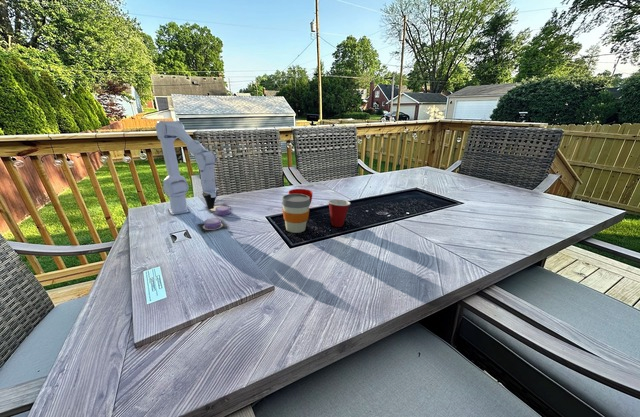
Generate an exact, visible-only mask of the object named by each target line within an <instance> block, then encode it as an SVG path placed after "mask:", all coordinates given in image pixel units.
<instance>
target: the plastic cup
mask: <svg viewBox="0 0 640 417" xmlns="http://www.w3.org/2000/svg"><path fill="white" fill-rule="evenodd" d="M327 204H328V208H329V218H330V224H331V226H332V227H334V228H341V227H343V226H344V225H345V224H344V223H345V220H346V218H347V213H348V210H349V207H350V206H351V202H350V201H348V200H346V199H345V200H344V199H338V198H336V199H335V198H333V199H328V200H327Z"/></svg>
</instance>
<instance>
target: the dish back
mask: <svg viewBox="0 0 640 417" xmlns="http://www.w3.org/2000/svg"><path fill="white" fill-rule="evenodd" d="M230 209H231V207H230V206H228V205H226V206H220V207H217V208H215V211H216V212H215V215H217V216H228V215H229V214H231V210H230Z"/></svg>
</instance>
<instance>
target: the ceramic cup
mask: <svg viewBox="0 0 640 417" xmlns="http://www.w3.org/2000/svg"><path fill="white" fill-rule="evenodd" d="M288 194H304V195H307V196H309V197H310V205H309V207H310V206H311V204H312V201H313V191H312V190H309V189H306V188H305V189H304V188H295V189H290V190H288Z"/></svg>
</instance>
